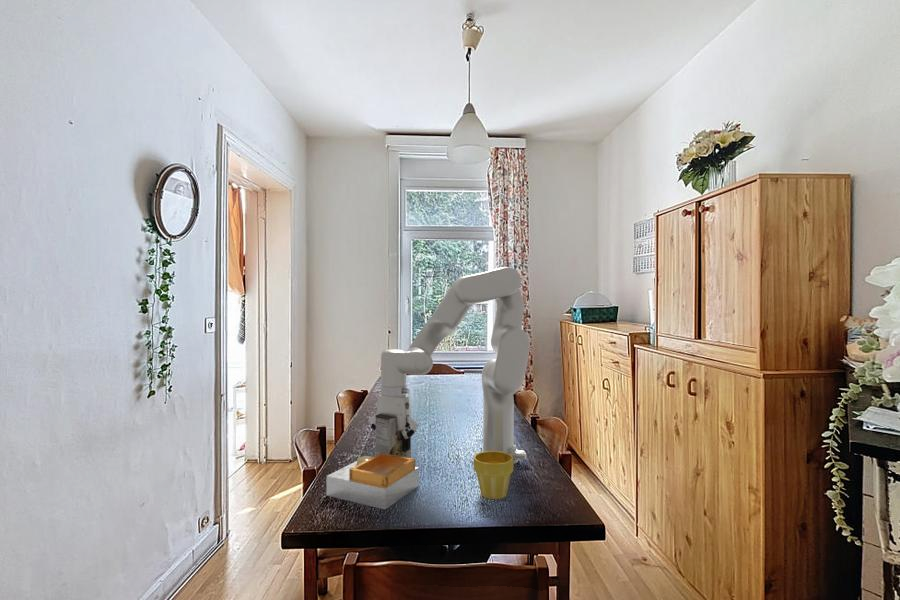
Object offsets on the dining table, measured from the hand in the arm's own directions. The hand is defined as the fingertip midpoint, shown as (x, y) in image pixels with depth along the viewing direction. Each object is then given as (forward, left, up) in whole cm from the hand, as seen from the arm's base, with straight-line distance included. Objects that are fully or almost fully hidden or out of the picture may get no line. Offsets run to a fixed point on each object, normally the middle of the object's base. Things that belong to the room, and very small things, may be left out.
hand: (393, 448), depth 142 cm
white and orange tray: (-5, +17, -6) cm, 19 cm away
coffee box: (0, 0, -6) cm, 6 cm away
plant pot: (-34, +5, -6) cm, 35 cm away
